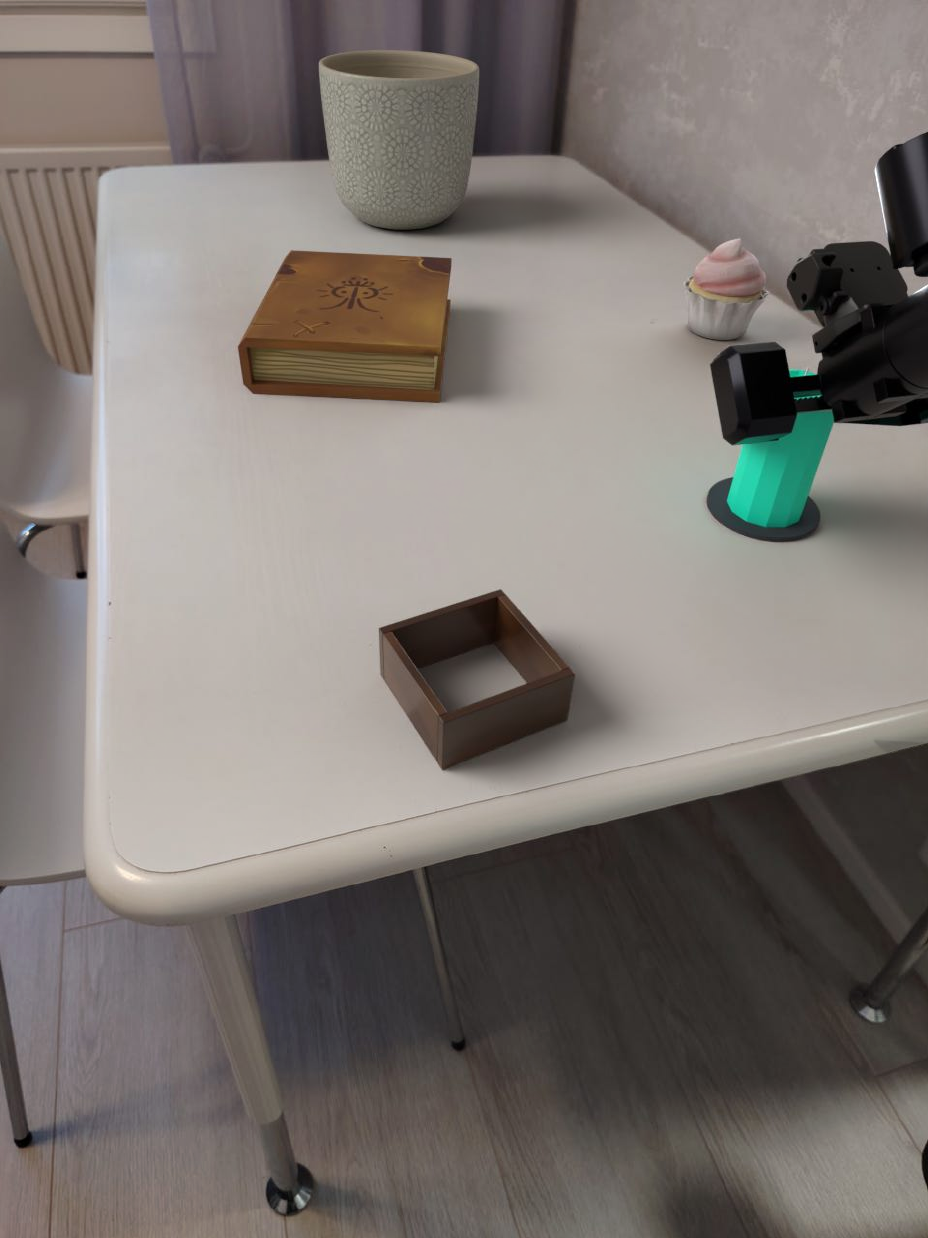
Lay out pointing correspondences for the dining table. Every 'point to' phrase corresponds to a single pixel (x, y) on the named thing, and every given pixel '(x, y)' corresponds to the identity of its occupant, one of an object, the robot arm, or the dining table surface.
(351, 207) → the planter
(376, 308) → the diary
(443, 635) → the holder
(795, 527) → the coaster
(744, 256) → the cupcake
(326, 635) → the dining table surface
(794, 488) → the candle
